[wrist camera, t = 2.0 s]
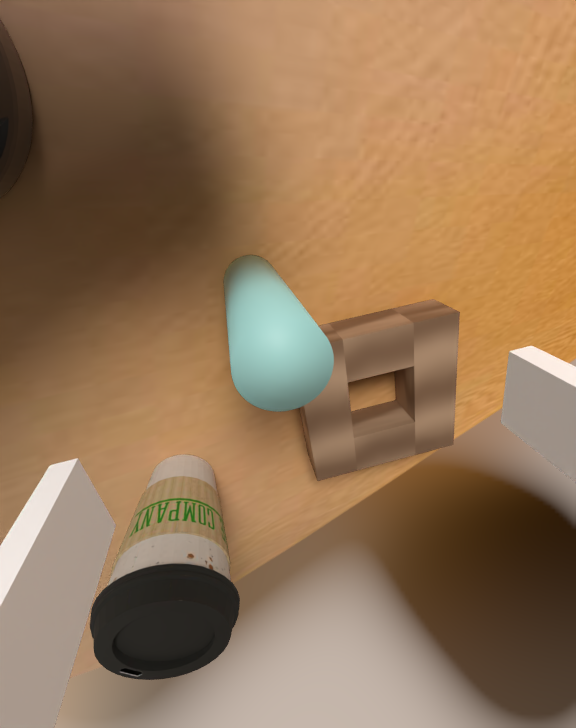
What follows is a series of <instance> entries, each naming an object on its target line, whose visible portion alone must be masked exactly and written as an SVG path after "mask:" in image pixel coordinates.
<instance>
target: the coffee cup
mask: <svg viewBox="0 0 576 728" xmlns="http://www.w3.org/2000/svg"><path fill="white" fill-rule="evenodd" d="M239 601H240V598H239V594H238V591H237V589H236V588H235V586H234V584H233V583H232V582H231V578H230V559H229V553H228V547H227V541H226V535H225V529H224V523H223V517H222V511H221V505H220V499H219V496H218V494H217V489H216V482H215V476H214V472H213V469H212V467H211V466H210V465H209V464H208V462H206V461H205V460H203V459H201V458H199V457H197V456H193V455H176V456H172V457H169V458H167V459H165V460H163V461H162V462H161V463H159V464H158V465H157V466H156V468H155V469H154V471H153V473H152V476H151V478H150V481H149V483H148V486H147V488H146V491H145V492H144V493H143V495H142V497H141V499H140V501H139V503H138V506H137V508H136V511H135V513H134V516H133V518H132V520H131V523H130V525H129V528H128V530H127V533H126V535H125V537H124V540H123V542H122V545H121V547H120V550H119V552H118V554H117V557H116V559H115V562H114V564H113V567H112V572H111V578H110V581H109V583H108V586H107V587H106V588H105V589H104V590H103V591H102V592H101V593H100V594H99V596H98V597H97V598H96V600H95V602H94V604H93V606H92V611H91V621H90V629H91V633H92V637H93V638H94V653H95V657H96V658H97V660H98V661H99V663H100V664H101V665H102V666H104V667H105V668H106V669H107V670H109V671H111V672H113V673H115V674H118V675H121V676H124V677H128V678H134V679H146V680H154V679H165V678H171V677H176V676H180V675H184V674H187V673H190V672H192V671H195V670H198V669H199V668H201V667H203V666H205V665H207V664H209V663H210V662H211V661H213V660H214V659H216V658H217V657H218V656H219V655H220V654H221V653H222V652H223V651H224V649H225V648H226V646H227V645H228V642H229V640H230V637H231V632H232V628H233V627H234V625H235V623H236V620H237V617H238V611H239Z"/></svg>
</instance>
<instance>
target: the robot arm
mask: <svg viewBox="0 0 576 728" xmlns="http://www.w3.org/2000/svg"><path fill="white" fill-rule="evenodd" d="M32 124H33V122H32V106H31V99H30V93H29V88H28V84H27V80H26V76H25V73H24V70H23V67H22V64H21V61H20V59H19V56H18V53H17V51H16V49H15V47H14V44H13V42H12V40H11V38H10V36H9V34H8V32H7V30H6V28H5V27H4V25H3V23H2V21H1V20H0V198H1V197H2V196H4V195H5V194H6V193H7V192H8V191H9V190H10V188H11V187H12V186H13V185H14V183H15V182H16V180H17V179H18V177H19V176H20V174H21V172H22V170H23V168H24V165H25V163H26V160H27V157H28V154H29V150H30V145H31V138H32ZM501 423H502V424H503V425H504V426H505V427H507V428H508V429H509V430H510V431H512V432H513V433H514V434H515V435H516V436H518V437H519V438H520V439H521V440H523V441H524V442H525V443H526V444H528V445H529V446H530V447H531V448H533V449H534V450H535V451H536V452H538V453H539V454H540V455H541V456H543V457H544V458H545V459H546V460H548V461H549V462H550V463H551V464H552V465H554V466H555V467H556V468H557V469H559V470H560V471H561V472H562V473H564V474H565V475H566V476H567V477H569V478H570V479H571V480H572V481H574V482H575V483H576V367H575V366H573V365H571V364H569V363H567V362H565V361H562V360H560V359H558V358H556V357H554V356H552V355H550V354H548V353H546V352H544V351H542V350H540V349H538V348H535V347H533V346H529V347H525V348H521V349H517V350H513V351H509V358H508V366H507V375H506V383H505V392H504V400H503V409H502V417H501ZM115 526H116V524H115V523H114V521H113V519H112V517H111V515H110V514H109V512H108V510H107V508H106V507H105V505H104V503H103V501H102V500H101V498H100V496H99V494H98V493H97V491H96V489H95V487H94V486H93V484H92V482H91V480H90V479H89V477H88V475H87V473H86V471H85V470H84V468H83V466H82V464H81V463H80V461H79V459H78V458H77V459H73V460H69V461H65V462H61V463H57V464H53V465H50V466H49V468H48V469H47V471H46V472H45V474H44V476H43V477H42V479H41V481H40V482H39V484H38V485H37V487H36V489H35V490H34V492H33V494H32V495H31V497H30V498H29V500H28V502H27V503H26V505H25V507H24V508H23V510H22V511H21V513H20V515H19V516H18V518H17V520H16V521H15V523H14V524H13V526H12V528H11V529H10V531H9V533H8V534H7V536H6V537H5V539H4V541H3V542H2V544H1V546H0V728H54V727H55V724H56V720H57V717H58V713H59V710H60V707H61V704H62V701H63V697H64V694H65V691H66V688H67V684H68V681H69V678H70V674H71V671H72V668H73V665H74V661H75V658H76V655H77V651H78V648H79V645H80V642H81V638H82V635H83V632H84V628H85V625H86V622H87V619H88V615H89V612H90V609H91V605H92V602H93V599H94V596H95V592H96V589H97V586H98V582H99V579H100V576H101V572H102V569H103V566H104V563H105V559H106V556H107V553H108V549H109V546H110V543H111V540H112V536H113V533H114V530H115Z"/></svg>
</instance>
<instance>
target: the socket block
mask: <svg viewBox="0 0 576 728" xmlns="http://www.w3.org/2000/svg"><path fill="white" fill-rule="evenodd" d="M459 315H460V312H459V311H457V310H455V309H452V308H450V307H448V306H446V305H444V304H442V303H440V302H438V301H436V300H434V299H432V300H428V301H423V302H419V303H415V304H410V305H406V306H402V307H397V308H393V309H389V310H384V311H380V312H376V313H371V314H367V315H363V316H358V317H354V318H350V319H345V320H341V321H337V322H332V323H328V324H324V325H320V326H319V328H320V329H321V330H322V332H323V333H324V334H325V336H326V337H327V338H328V340H329V342H330V344H331V347H332V350H333V355H334V366H333V371H332V375H331V377H330V380H329V382H328V384H327V385H326V387H325V388H324V390H323V391H322V392H321V393H320V394H319V395H318V396H317V397H316V398H315V399H313V400H312V401H311V402H309V403H307V404H306V405H304V406H302V407H299V408H300V413H301V419H302V424H303V429H304V434H305V440H306V445H307V450H308V455H309V458H310V461H311V463H312V466H313V469H314V472H315V475H316V478H317V480H318V481H320V480H324V479H327V478H331V477H335V476H339V475H342V474H346V473H350V472H353V471H357V470H361V469H365V468H368V467H372V466H376V465H379V464H383V463H387V462H391V461H394V460H398V459H402V458H405V457H409V456H413V455H417V454H420V453H424V452H428V451H432V450H435V449H439V448H443V447H446V446H450V445H453V441H454V420H455V399H456V378H457V357H458V336H459ZM392 371H395V388H396V400H395V401H391V402H387V403H383V404H379V405H375V406H371V407H367V408H363V409H360V410H356V411H352V412H351V409H350V400H349V391H348V382H352V381H356V380H360V379H364V378H368V377H372V376H376V375H380V374H384V373H388V372H392Z"/></svg>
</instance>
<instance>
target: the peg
mask: <svg viewBox="0 0 576 728" xmlns="http://www.w3.org/2000/svg"><path fill="white" fill-rule="evenodd" d="M224 293H225V305H226V317H227V329H228V341H229V352H230V364H231V374H232V379H233V382H234V385H235V387H236V389H237V391H238V392H239V393H240V395H241V396H242V397H243V398H244V399H245V400H246V401H248V402H249V403H251V404H252V405H254V406H256V407H258V408H261V409H264V410H268V411H288V410H293V409H296V408H299V407H302V406H304V405H306V404H307V403H309V402H311V401H312V400H313V399H315V398H316V397H317V396H318V395H319V394H320V393H321V392H322V391H323V390H324V388H325V387H326V385H327V384H328V382H329V380H330V377H331V375H332V371H333V366H334V355H333V350H332V347H331V344H330V342H329V340H328V338H327V337H326V336H325V334H324V333H323V332H322V330H321V329H320V328H319V326H318V325H317V324H316V322H315V321H314V320H313V319H312V317H311V316H310V315H309V313H308V312H307V311H306V309H305V308H304V307H303V306H302V304H301V303H300V302H299V300H298V299H297V298H296V296H295V295H294V294H293V293H292V291H291V290H290V289H289V287H288V286H287V285H286V283H285V282H284V281H283V280H282V278H281V277H280V276H279V274H278V273H277V272H276V270H275V269H274V268H273V266H272V265H271V264H270V263H269V262H268V261H267V260H265V259H263V258H261V257H259V256H255V255H246V256H242V257H239V258H237V259H236V260H234V261H233V262H232V263H231V264H230V265H229V267H228V268H227V270H226V272H225V275H224Z"/></svg>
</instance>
